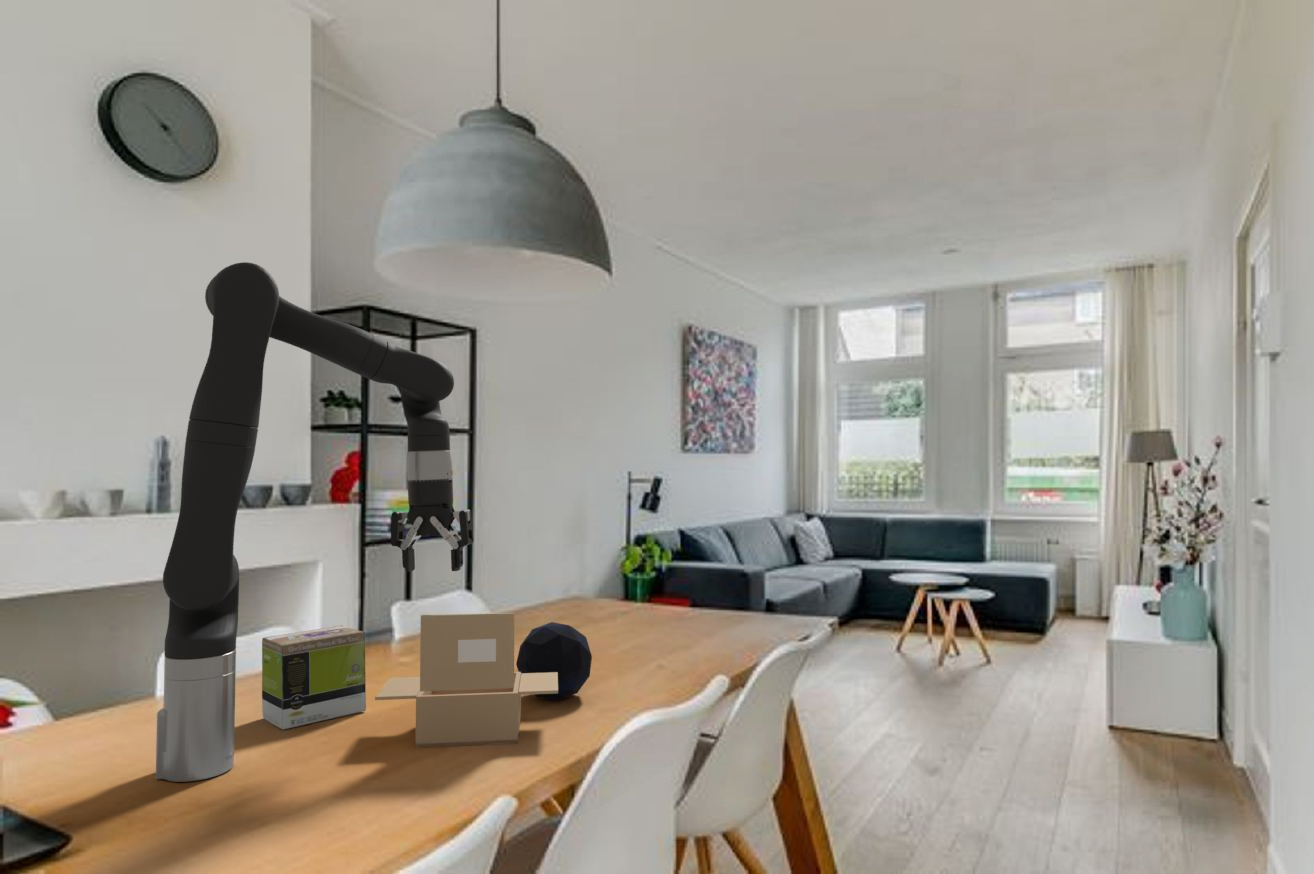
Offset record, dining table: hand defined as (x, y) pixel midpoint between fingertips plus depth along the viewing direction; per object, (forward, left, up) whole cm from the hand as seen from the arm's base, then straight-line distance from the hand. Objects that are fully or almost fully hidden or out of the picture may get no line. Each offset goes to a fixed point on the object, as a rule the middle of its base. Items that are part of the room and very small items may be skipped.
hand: (433, 570), depth 141 cm
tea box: (-22, +9, -27) cm, 36 cm away
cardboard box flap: (+7, -10, -18) cm, 22 cm away
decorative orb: (+21, +15, -27) cm, 37 cm away
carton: (+7, -4, -27) cm, 28 cm away
